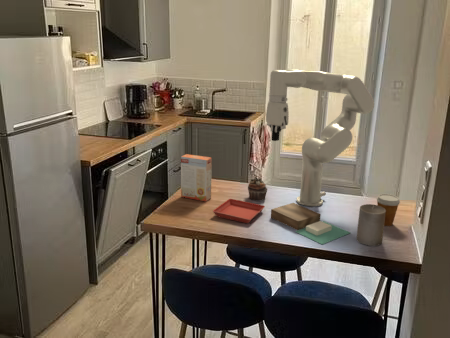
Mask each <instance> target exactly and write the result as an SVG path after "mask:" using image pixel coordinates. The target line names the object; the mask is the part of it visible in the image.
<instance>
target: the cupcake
mask: <svg viewBox="0 0 450 338" xmlns="http://www.w3.org/2000/svg"><path fill="white" fill-rule="evenodd" d="M247 185H248V186H247V190H248V196H249V199H251V200H253V201H263V200H266V196H267V192H268V188H267V185H266V183H265V182H264V180H263V179H262V178H258V177H254V178H252V179H251V178H250V181H249V183H248V184H247Z"/></svg>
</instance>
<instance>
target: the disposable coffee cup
mask: <svg viewBox="0 0 450 338" xmlns="http://www.w3.org/2000/svg"><path fill="white" fill-rule="evenodd" d="M376 201H377V204H376V205H378V206H381V207H383V208H384V209H385V210H386V213H385V222H384V227H391V226H393V225H394V221H395V217H396V214H397V211H398V208H399V205H400V203H401V201H400V197H398V196H396V195H394V194H390V193H389V194H388V193H381V194H378V195H377V197H376Z"/></svg>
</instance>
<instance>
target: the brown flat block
mask: <svg viewBox="0 0 450 338" xmlns="http://www.w3.org/2000/svg"><path fill="white" fill-rule="evenodd" d="M270 210H271V211H270V219H273V220H274V221H277V222H279V223H281V224H283V225H285V226H288V227H289V228H292V229H294V230H296V231H298V230H300V229H303V228H306V226H308V225H310V224H313V223H316V222H319V221H321V213H320V212H318V211H315V210H313V209H310V208H307V207H306V206H305V207H304V205H301V204H299V203H295V202H292V203H288V204H284V205H281V206H277V207H274V208H271V209H270Z"/></svg>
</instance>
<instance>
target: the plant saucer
mask: <svg viewBox="0 0 450 338" xmlns="http://www.w3.org/2000/svg"><path fill="white" fill-rule="evenodd" d="M264 209H265V205H263V204H262V205H261V204H257V203H252V202H248V201H242V200H239V199H233V198H228V199H227V200H225V201H224V202H223V203H221V204H220V205H219V206H217V207H216V208H214V209H213V210H212V212H213V214H214V215H215V216H216V217H218V218H220V219H221V218H222V219H225V220H226V219H227V220H230V221H236V222H239V223H243V224H244V223H245V224H249V223H250V222H251V221H252V220H253V219H255V217H257V216H258V215H259V213H261V212H262V211H263V210H264Z"/></svg>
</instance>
